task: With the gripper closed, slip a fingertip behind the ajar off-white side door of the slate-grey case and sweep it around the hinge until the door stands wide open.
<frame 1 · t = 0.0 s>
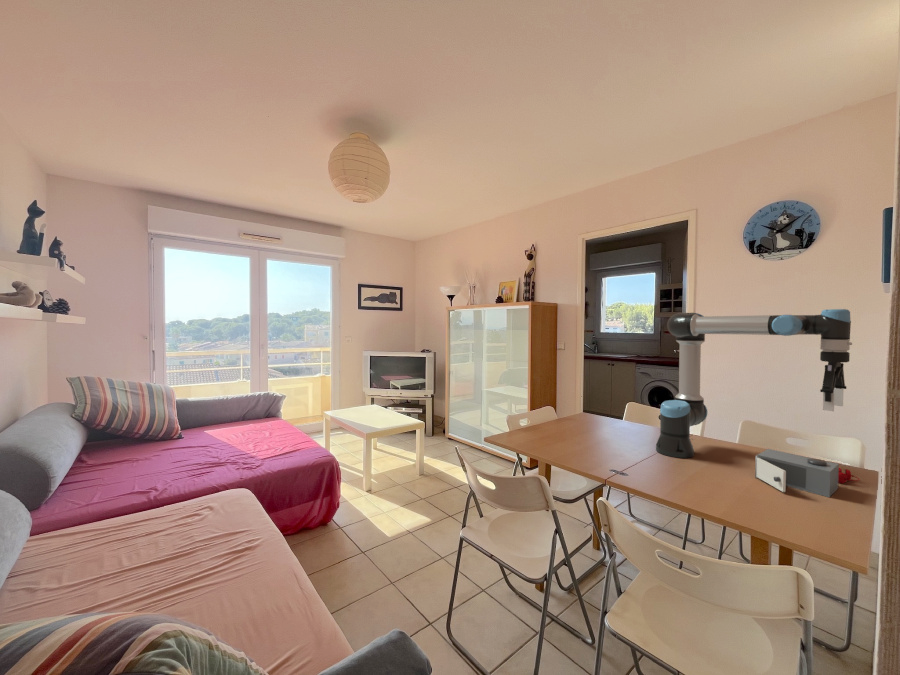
hand: (833, 408, 139), 28 cm above the table, fingers open, 13 cm apart
door: (767, 473, 137), point 5 cm above the table, hinge at 40.0°
case: (796, 482, 139), on the table
alarm clock: (830, 478, 144), on the table
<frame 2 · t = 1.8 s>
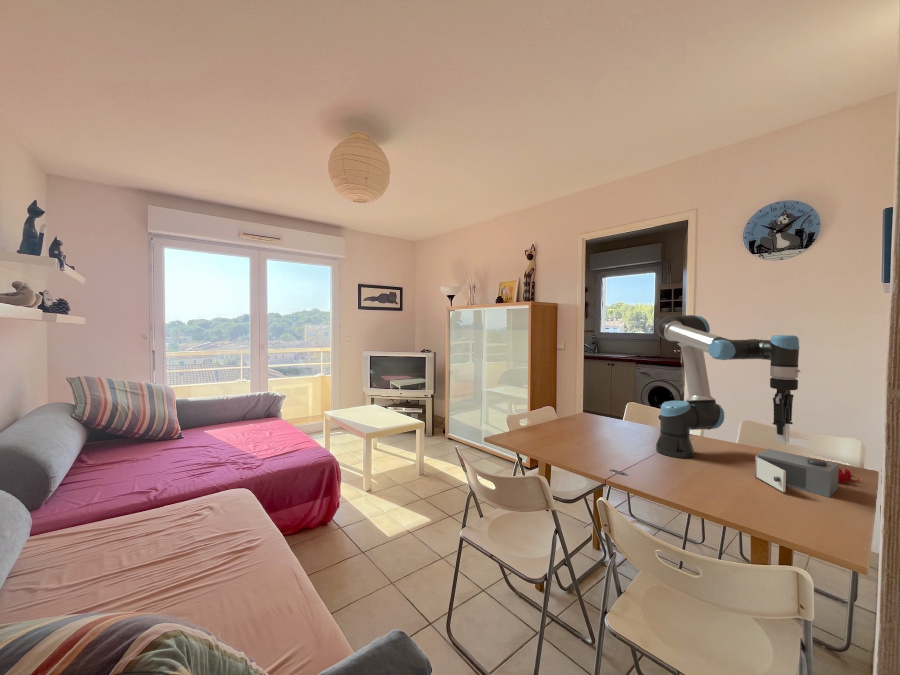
hand: (782, 442, 135), 17 cm above the table, fingers open, 3 cm apart
nothing on the table moved.
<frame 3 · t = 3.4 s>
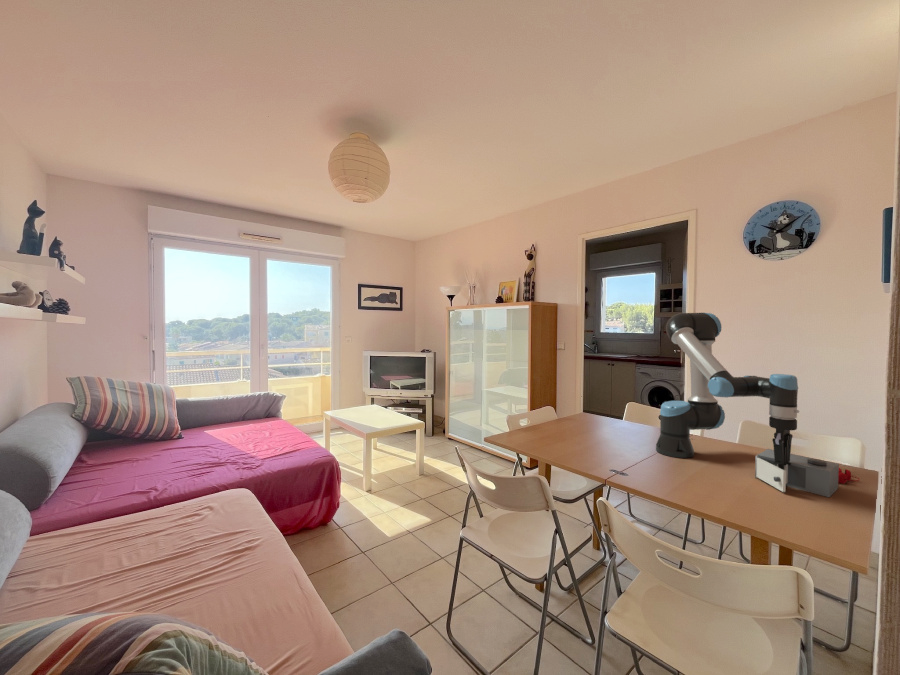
hand: (782, 481, 135), 2 cm above the table, fingers closed
nothing on the table moved.
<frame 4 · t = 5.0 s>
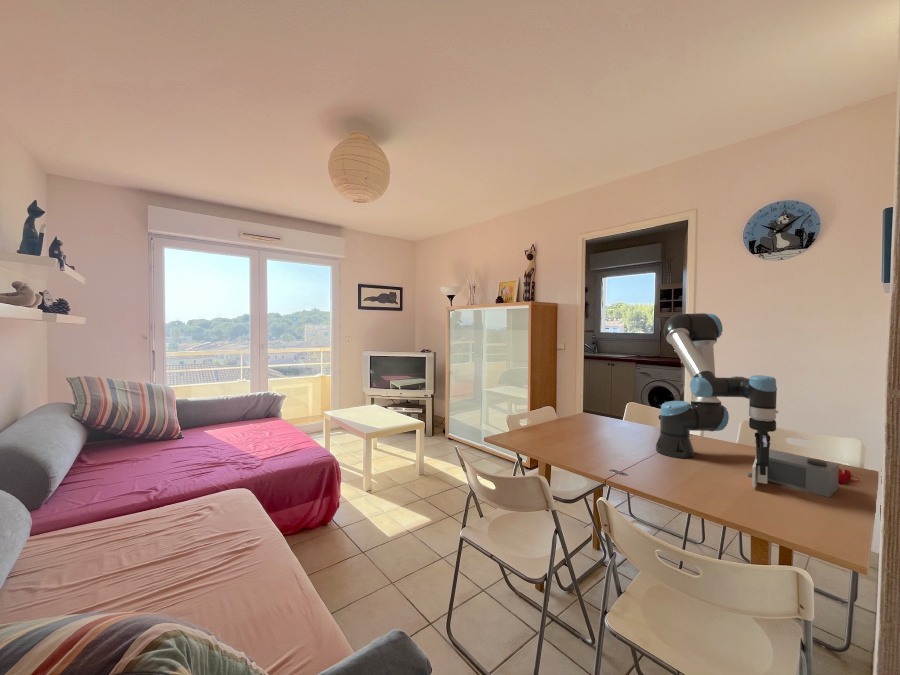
hand: (762, 482, 137), 2 cm above the table, fingers closed
door: (753, 471, 139), point 5 cm above the table, hinge at 77.7°, touching gripper
everything else where it was.
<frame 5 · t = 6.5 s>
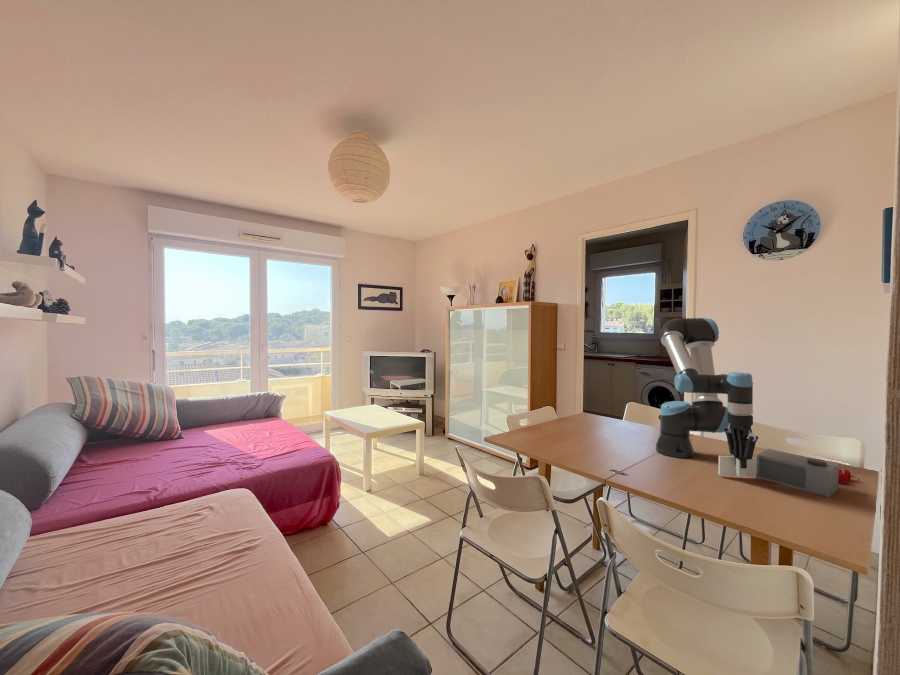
hand: (741, 475, 141), 2 cm above the table, fingers closed
door: (737, 465, 145), point 5 cm above the table, hinge at 131.8°, touching gripper
everything else where it was.
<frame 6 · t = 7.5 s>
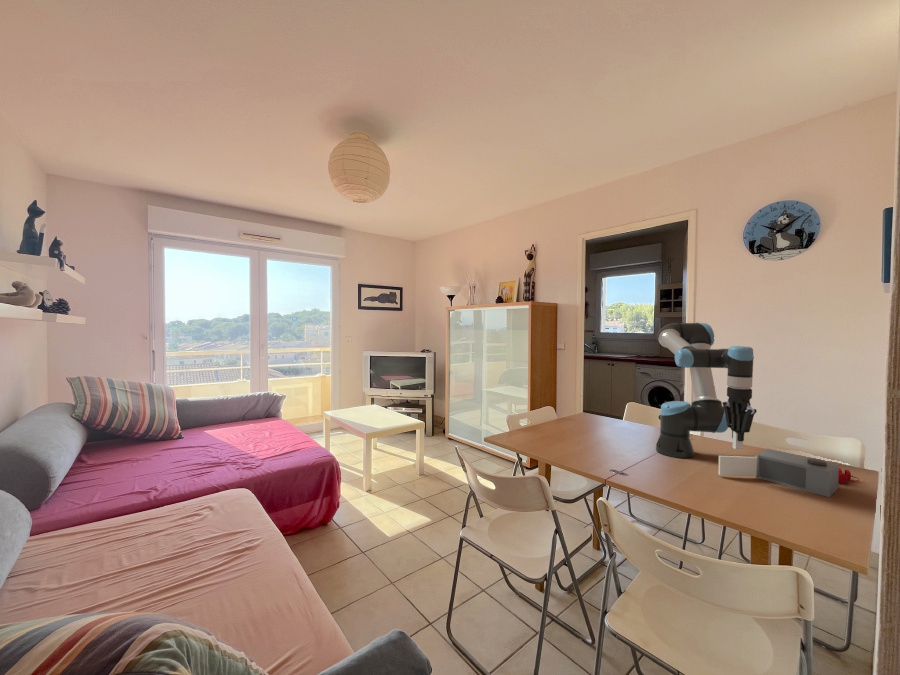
hand: (737, 448, 142), 12 cm above the table, fingers closed
door: (737, 465, 145), point 5 cm above the table, hinge at 131.4°
everything else where it was.
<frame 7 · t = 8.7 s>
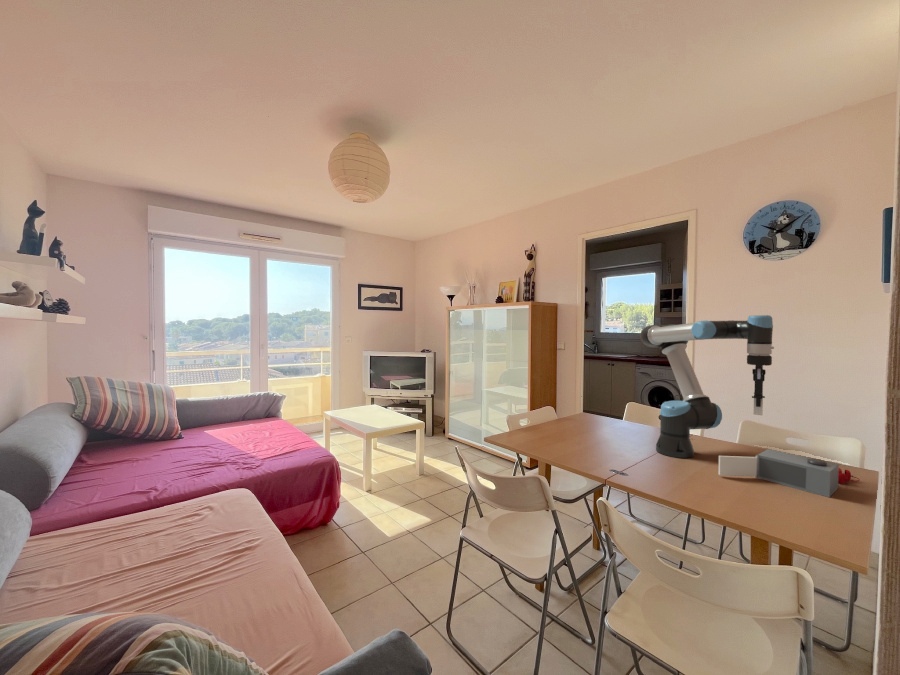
hand: (757, 414, 147), 24 cm above the table, fingers closed
nothing on the table moved.
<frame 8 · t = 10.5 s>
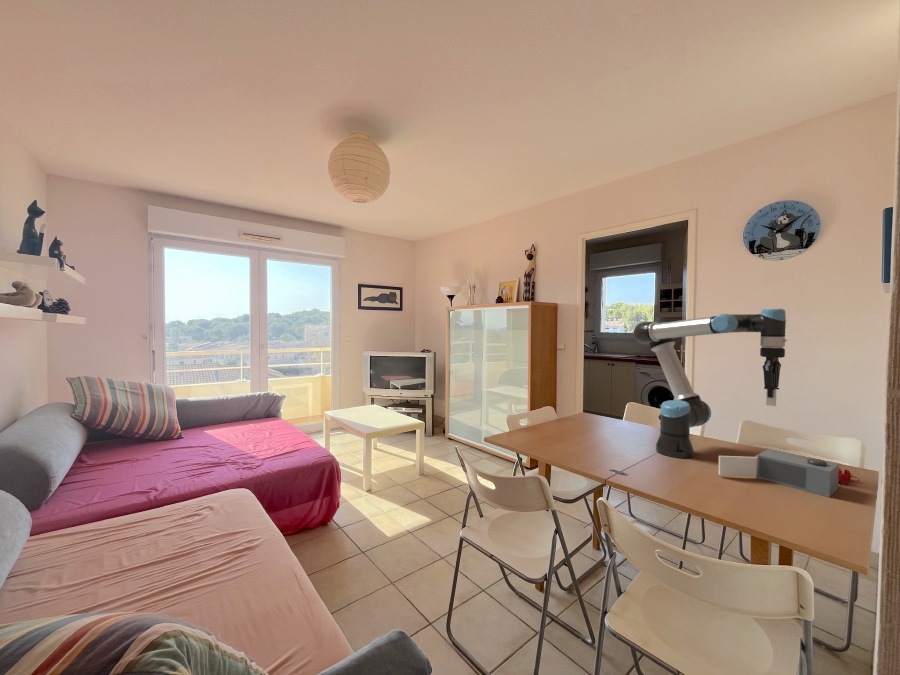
hand: (771, 405, 151), 26 cm above the table, fingers closed
nothing on the table moved.
at the end: door at +131° (first picture: +40°); door touching nothing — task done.
